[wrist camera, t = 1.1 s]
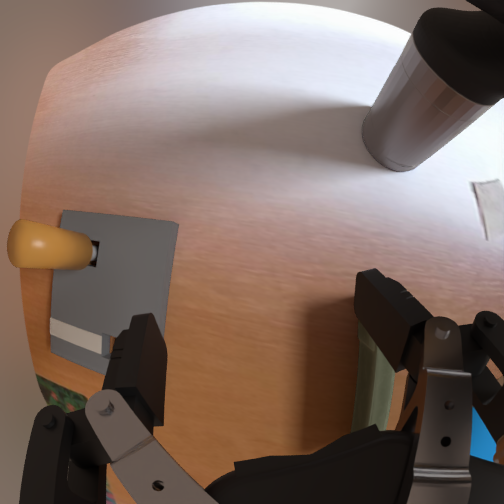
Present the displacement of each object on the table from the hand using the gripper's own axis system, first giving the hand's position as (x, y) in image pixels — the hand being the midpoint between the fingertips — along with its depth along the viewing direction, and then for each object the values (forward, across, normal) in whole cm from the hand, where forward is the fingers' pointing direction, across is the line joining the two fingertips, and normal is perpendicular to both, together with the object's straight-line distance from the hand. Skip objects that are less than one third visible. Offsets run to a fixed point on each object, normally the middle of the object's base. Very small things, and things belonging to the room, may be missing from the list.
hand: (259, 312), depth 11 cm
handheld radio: (+9, -12, +23) cm, 28 cm away
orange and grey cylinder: (+24, +18, +6) cm, 30 cm away
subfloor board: (+21, +17, +10) cm, 29 cm away
